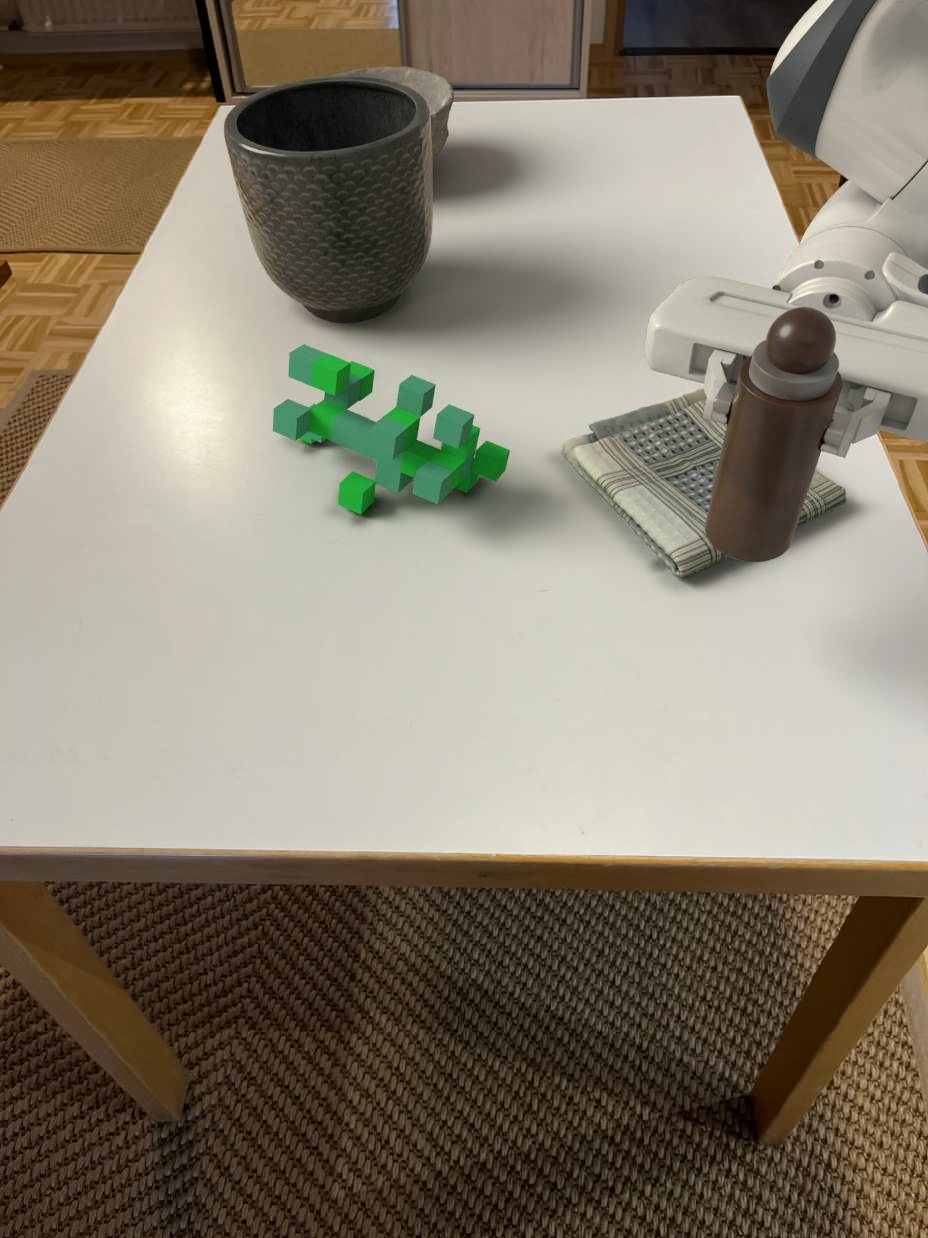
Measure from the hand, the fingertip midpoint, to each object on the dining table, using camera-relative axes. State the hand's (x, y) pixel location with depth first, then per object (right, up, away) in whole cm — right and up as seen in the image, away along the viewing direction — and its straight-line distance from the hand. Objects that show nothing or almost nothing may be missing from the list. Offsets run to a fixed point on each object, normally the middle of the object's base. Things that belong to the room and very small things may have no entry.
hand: (775, 428), depth 53 cm
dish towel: (+2, +1, +26) cm, 26 cm away
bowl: (-29, +47, +69) cm, 88 cm away
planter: (-30, +24, +49) cm, 62 cm away
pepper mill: (+1, -5, +7) cm, 9 cm away
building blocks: (-24, +1, +28) cm, 37 cm away
